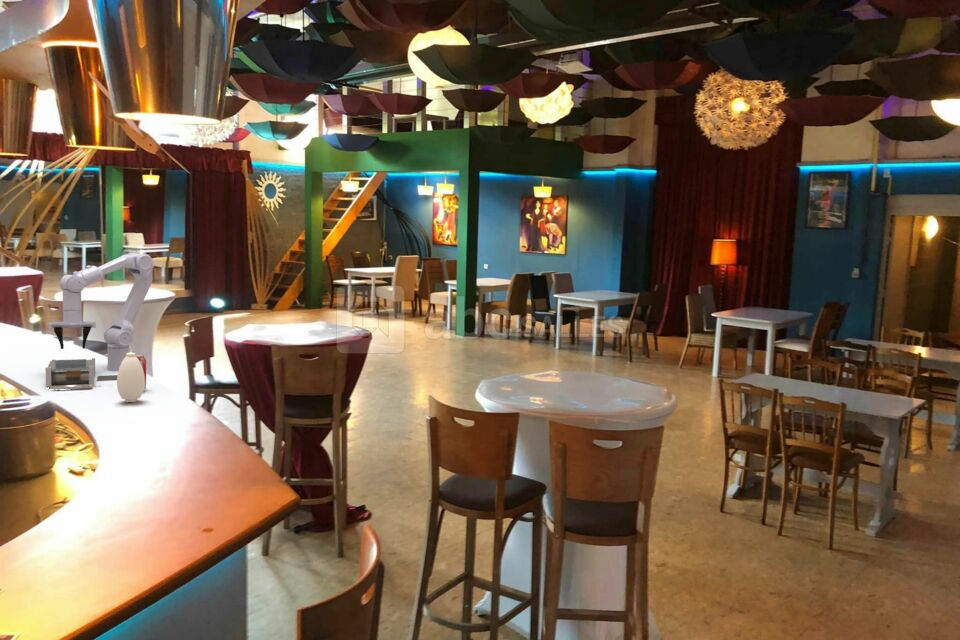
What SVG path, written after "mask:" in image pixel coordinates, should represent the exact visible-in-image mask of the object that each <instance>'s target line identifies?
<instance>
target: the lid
mask: <svg viewBox="0 0 960 640" xmlns="http://www.w3.org/2000/svg"><path fill="white" fill-rule="evenodd" d="M54 360H55V361H52V360H50V361H49V363H48V366H47V367H51V371H56V372H58V371H78V370H81V371H87V370H89V366H94V362H95V363H96V359H95V360H92V359H85V358H82V359H54Z"/></svg>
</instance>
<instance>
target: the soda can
mask: <svg viewBox="0 0 960 640" xmlns="http://www.w3.org/2000/svg"><path fill="white" fill-rule="evenodd" d="M134 353H135V356H136V357H137V358H138V360H139V361H140V363H141V365H142V368H143V371H144V376H145V387H144V390H146V389H147V360H146V358H145V355H144V354H143V353H136V352H134ZM125 357H126V355H125ZM123 360H124V359H123Z"/></svg>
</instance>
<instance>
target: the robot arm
mask: <svg viewBox="0 0 960 640" xmlns="http://www.w3.org/2000/svg"><path fill="white" fill-rule="evenodd" d="M154 267H155V262H154V261H153V259H152V257H151V256H150V255H149V254H147V253H136V252H128V253H126V254H122V255H120V256H119V257H117V258H115V259H113V260H110V261H108V262H106V263H104V264H102V265H100V266H95V265H86V266H85V268H84V269H82V270H79V271H73V274H65V275H64V276H62V278H60V282H59V283H58V286H59V288H60V289H61V290H62V320H63V321H51V322H50V321H49V322H48V329H53V332H54V333H55V335H56V337H57V339H58V342H59V345H60V350H64V347H65V346H64V338H63V337H64V334H63V333H64V331H63V330H64V329H73V328H74V329H79V328H81V329H82V349H86V343H87V339H88V336H89V335H90V332H91V329H96V327H97V322H96V321H83V317H82V316H83V315H82V313H83V312H82V311H83V310H82V309H83V308H82V291H84V289H85V288H86V287H89V286H90V285H93V284H97V283H98V282H100V281H101V280H102V279H103V276H105V275H107V274H110V273H113V272H116V271H118V270H122V269H127V270H128V271H129V272H130V273H131V274H132V276H133V278H134V280H135V281H134V283H133V285H132V286H131V287H132V288H131V289H130V291H129V294H128V296H127V298H126V300H125V302H124V305H123V307H122V308H121V310H120V313H119V315H118V316H117V317H118V318H117V319H115V320H114V321H112V323H111V324H110V325H109V327H108V328H107V329H106V330H104V333H103V339H104V341H105V342H106V345H107V351H106V352H107V369H105V370H104V372H118V371H119V368H120V365H121V363H122V361H123V359H124V358H125V355H126V354H127V353H130V345H132V342H133V340H134V339H133V337H134V336H133V334H134V332H135V328H134V325H133V324H134V322H135V319H136V318H137V316H138V313H139V312H140V309H141V307H142V305H143V303H144V300H145V298H146V297H147V294H148V292H149V289H150V288H151V285H152V283H153V274H154V273H153V272H154V271H153V269H154Z"/></svg>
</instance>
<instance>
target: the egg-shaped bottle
mask: <svg viewBox="0 0 960 640" xmlns="http://www.w3.org/2000/svg"><path fill="white" fill-rule="evenodd" d="M129 349H130V353H127V354H126V357H125V358H124V360H123V361H122V363H121V365H120V368H119V371H117V375H118V376H117V380H116V386H117V392H118V395H119V396H120V398H121V399H123V400H124V401H125V402H127V403H128V402H134V403H135V402H137V401H138V400H139V399H140V398H141V397H142V395H143V394H144V392H145V389H144V387H145V376H144V371H143V368H142V365H141V363H140V361H139V360H138V358H137V357H136V356H135V353H136V352H132V351H133V350H132V344H130V345H129Z"/></svg>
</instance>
